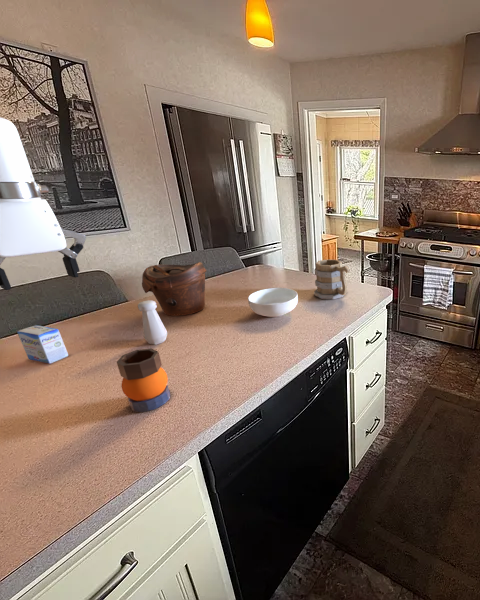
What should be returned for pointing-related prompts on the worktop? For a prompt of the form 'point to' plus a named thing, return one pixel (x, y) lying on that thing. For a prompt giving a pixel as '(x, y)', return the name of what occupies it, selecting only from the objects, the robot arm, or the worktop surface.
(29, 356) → the medicine box
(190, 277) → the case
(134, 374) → the napkin ring
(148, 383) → the ball
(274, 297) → the cereal bowl
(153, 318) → the salt shaker
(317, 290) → the tankard
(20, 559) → the worktop surface
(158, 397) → the cradle
